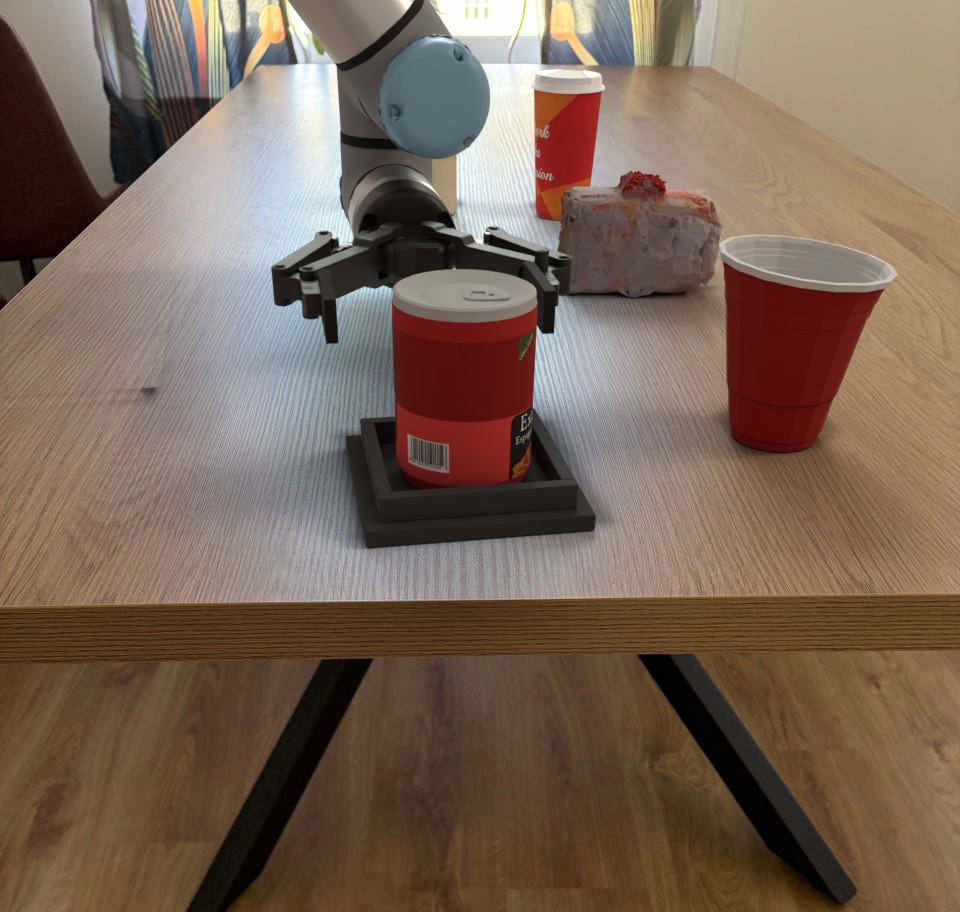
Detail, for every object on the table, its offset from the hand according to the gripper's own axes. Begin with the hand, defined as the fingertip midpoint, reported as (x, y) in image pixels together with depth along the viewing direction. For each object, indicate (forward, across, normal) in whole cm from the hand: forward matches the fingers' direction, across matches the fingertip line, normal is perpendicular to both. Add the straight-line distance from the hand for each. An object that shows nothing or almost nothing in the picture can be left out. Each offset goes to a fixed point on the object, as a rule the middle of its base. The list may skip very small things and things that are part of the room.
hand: (442, 317), depth 69 cm
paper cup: (-58, -22, -8) cm, 62 cm away
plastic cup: (+2, -22, -8) cm, 24 cm away
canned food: (+7, 0, -7) cm, 10 cm away
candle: (-60, -8, -8) cm, 61 cm away
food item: (-30, -22, -8) cm, 38 cm away
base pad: (+7, 0, -8) cm, 11 cm away
